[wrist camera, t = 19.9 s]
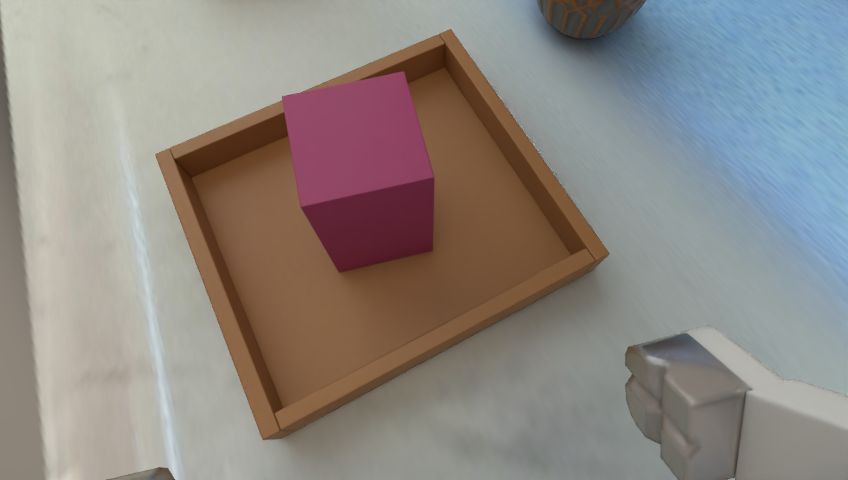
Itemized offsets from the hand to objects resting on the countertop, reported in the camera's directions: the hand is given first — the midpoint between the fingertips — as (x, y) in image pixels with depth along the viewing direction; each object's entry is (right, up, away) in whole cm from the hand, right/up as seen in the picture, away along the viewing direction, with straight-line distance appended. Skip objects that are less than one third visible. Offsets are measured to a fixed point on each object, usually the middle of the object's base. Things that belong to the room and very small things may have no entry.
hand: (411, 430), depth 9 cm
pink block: (-2, +4, +17) cm, 18 cm away
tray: (-2, +4, +18) cm, 19 cm away
